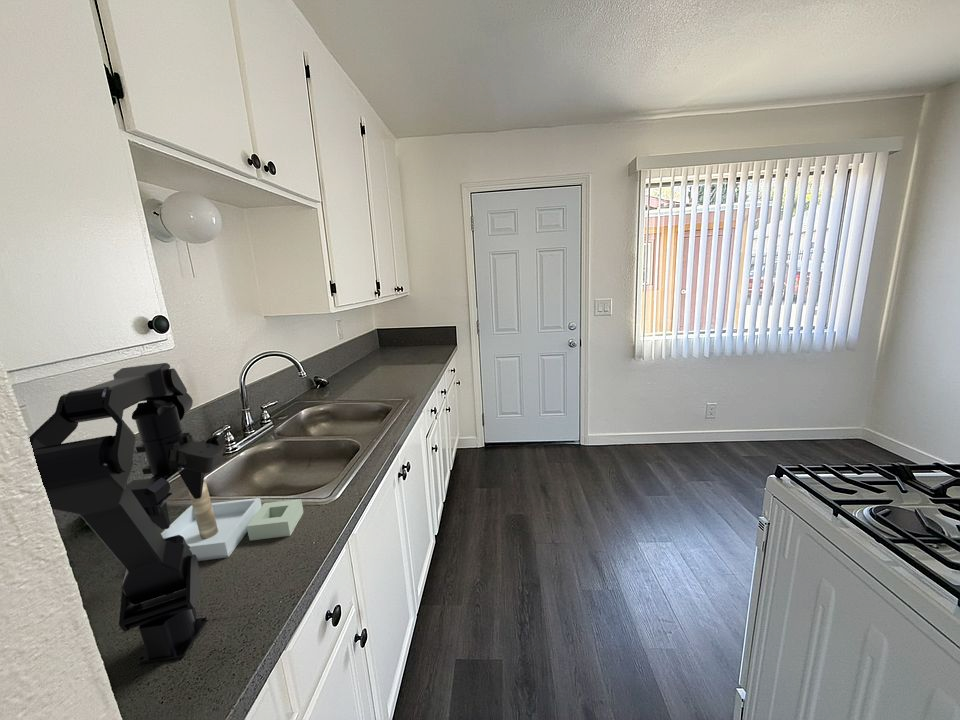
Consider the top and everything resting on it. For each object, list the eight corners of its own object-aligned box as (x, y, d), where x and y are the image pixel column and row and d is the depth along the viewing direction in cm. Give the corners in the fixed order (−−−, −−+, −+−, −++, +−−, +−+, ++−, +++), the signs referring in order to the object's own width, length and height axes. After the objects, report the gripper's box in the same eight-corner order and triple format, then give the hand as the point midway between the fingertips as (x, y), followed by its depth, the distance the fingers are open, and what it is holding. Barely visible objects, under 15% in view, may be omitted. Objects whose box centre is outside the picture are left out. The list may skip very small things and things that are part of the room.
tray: (228, 557, 77) (224, 542, 76) (145, 567, 76) (141, 552, 75) (262, 510, 92) (260, 497, 91) (194, 518, 91) (190, 505, 90)
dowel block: (290, 535, 82) (287, 521, 82) (249, 540, 82) (246, 526, 81) (303, 512, 91) (301, 499, 90) (266, 516, 90) (263, 503, 89)
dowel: (212, 537, 82) (200, 487, 80) (197, 539, 82) (184, 489, 79) (221, 528, 85) (209, 480, 83) (206, 530, 85) (193, 481, 82)
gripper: (175, 453, 59) (198, 541, 62) (237, 411, 77) (252, 480, 80) (97, 461, 58) (125, 550, 61) (178, 416, 76) (196, 486, 79)
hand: (183, 512), depth 71 cm, fingers open, 9 cm apart
